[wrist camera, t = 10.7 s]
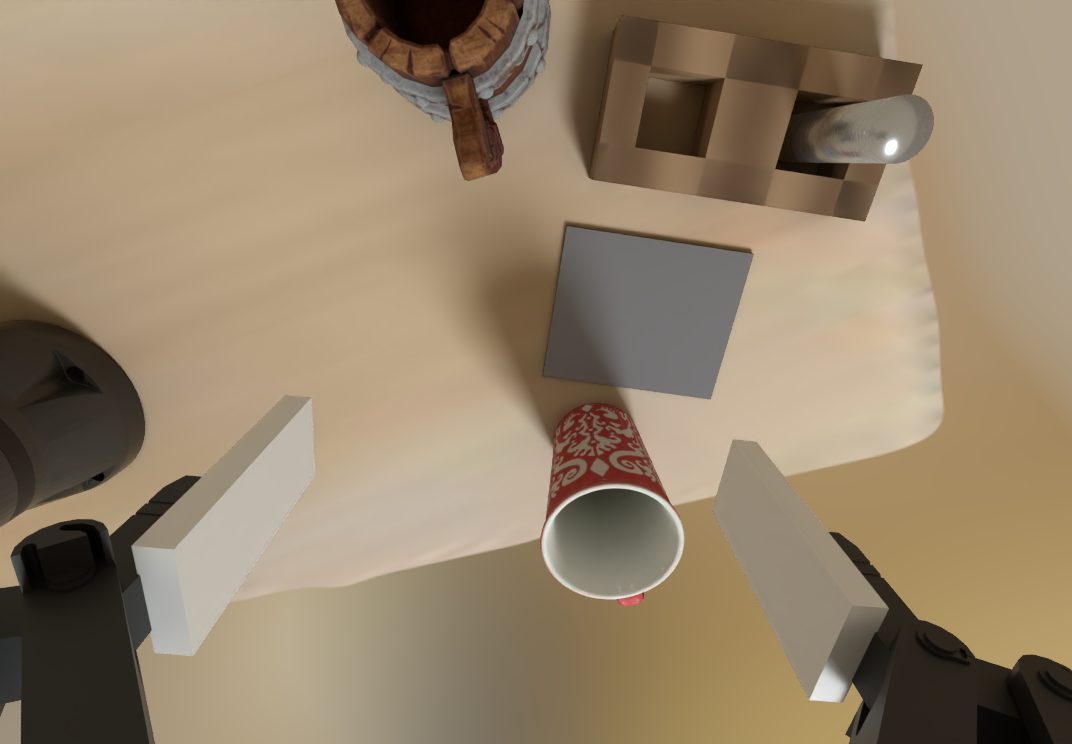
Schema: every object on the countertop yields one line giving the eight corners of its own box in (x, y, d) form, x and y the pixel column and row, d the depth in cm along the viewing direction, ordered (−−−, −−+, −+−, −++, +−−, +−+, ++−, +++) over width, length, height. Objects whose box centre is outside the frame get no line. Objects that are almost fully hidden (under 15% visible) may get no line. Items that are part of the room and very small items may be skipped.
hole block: (588, 177, 37) (593, 179, 34) (613, 31, 34) (621, 15, 30) (833, 215, 38) (864, 221, 34) (882, 74, 35) (922, 64, 31)
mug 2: (531, 404, 44) (524, 501, 32) (637, 381, 43) (674, 472, 31) (564, 523, 49) (569, 649, 36) (661, 505, 48) (701, 628, 35)
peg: (764, 158, 37) (858, 158, 26) (779, 110, 36) (883, 89, 24) (806, 165, 37) (917, 168, 26) (821, 118, 36) (944, 100, 24)
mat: (543, 374, 43) (542, 376, 43) (566, 225, 39) (566, 226, 38) (709, 397, 44) (710, 399, 43) (752, 253, 39) (753, 254, 39)
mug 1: (525, -138, 31) (526, -267, 18) (575, 122, 38) (601, 161, 25) (339, -76, 32) (218, -155, 19) (422, 164, 39) (375, 222, 27)
